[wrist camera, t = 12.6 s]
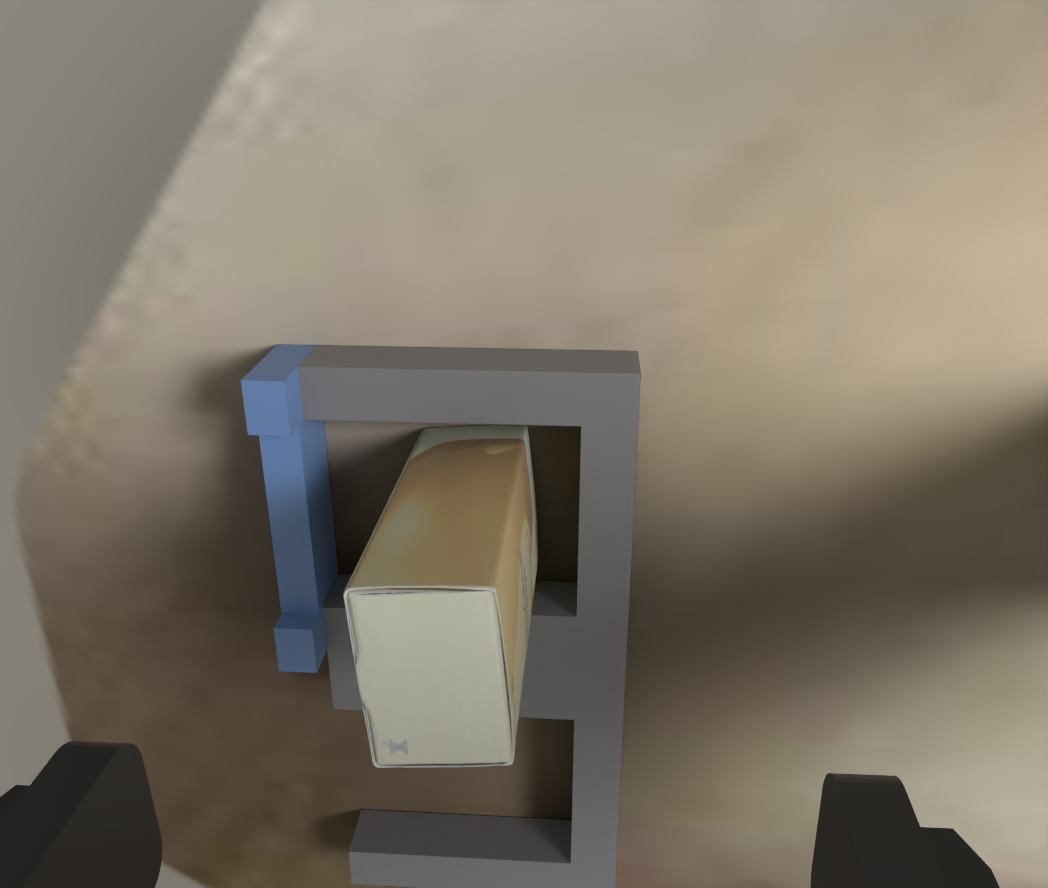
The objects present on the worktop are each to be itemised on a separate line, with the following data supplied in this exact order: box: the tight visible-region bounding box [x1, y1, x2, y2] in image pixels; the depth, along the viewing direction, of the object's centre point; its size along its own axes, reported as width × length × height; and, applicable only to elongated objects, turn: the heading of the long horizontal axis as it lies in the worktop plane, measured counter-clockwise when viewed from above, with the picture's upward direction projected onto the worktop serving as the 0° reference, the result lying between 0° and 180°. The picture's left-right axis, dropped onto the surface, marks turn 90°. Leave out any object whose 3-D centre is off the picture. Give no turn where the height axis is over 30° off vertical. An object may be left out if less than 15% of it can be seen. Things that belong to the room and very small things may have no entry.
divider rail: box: [241, 345, 641, 888], centre depth 38 cm, size 14×25×4 cm, turn 0°
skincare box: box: [343, 425, 538, 768], centre depth 31 cm, size 6×4×12 cm
